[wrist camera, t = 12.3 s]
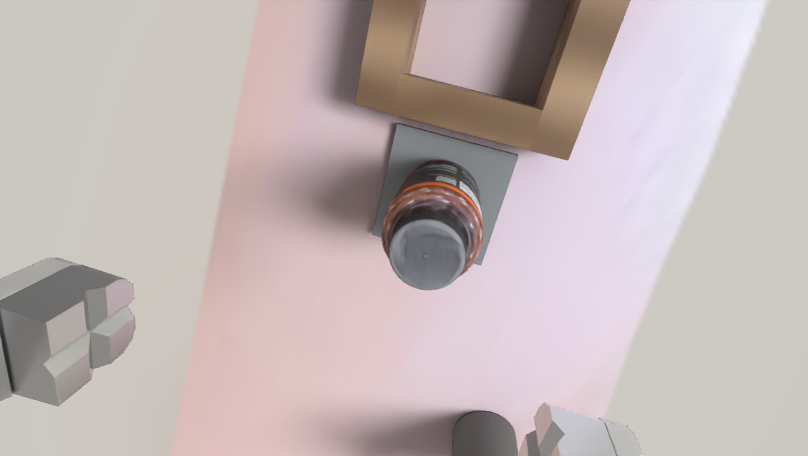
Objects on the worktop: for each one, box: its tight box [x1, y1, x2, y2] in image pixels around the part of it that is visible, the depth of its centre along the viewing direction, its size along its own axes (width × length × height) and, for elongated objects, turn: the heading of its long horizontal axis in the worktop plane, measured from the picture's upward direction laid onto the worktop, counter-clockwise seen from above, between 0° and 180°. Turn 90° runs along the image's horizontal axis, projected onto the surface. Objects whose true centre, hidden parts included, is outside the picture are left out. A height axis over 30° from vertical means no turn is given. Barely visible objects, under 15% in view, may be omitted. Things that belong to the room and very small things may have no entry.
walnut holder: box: [355, 0, 630, 160], centre depth 26 cm, size 14×14×4 cm
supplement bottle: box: [381, 160, 483, 290], centre depth 26 cm, size 6×6×11 cm
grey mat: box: [372, 123, 518, 265], centre depth 32 cm, size 9×9×1 cm
